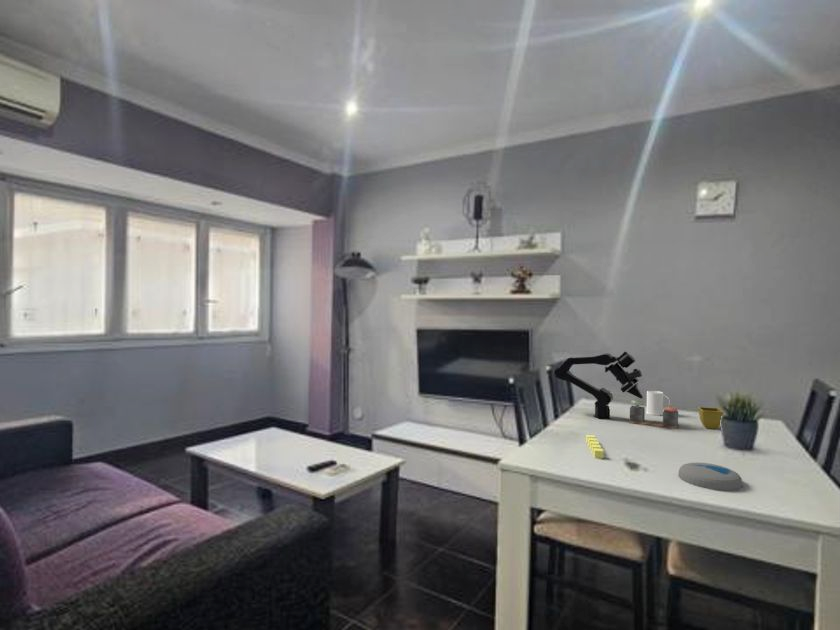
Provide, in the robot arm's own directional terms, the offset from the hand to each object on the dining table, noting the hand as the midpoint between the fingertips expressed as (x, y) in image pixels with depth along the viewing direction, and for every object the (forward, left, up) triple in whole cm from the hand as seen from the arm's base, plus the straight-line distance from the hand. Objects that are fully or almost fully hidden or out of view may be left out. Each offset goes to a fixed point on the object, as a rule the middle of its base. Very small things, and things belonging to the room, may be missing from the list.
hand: (642, 398), depth 239 cm
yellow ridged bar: (-44, -40, -13) cm, 60 cm away
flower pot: (+28, -12, -13) cm, 33 cm away
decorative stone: (-23, -76, -13) cm, 81 cm away
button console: (+4, -4, -13) cm, 14 cm away
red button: (+10, -8, -9) cm, 15 cm away
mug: (+20, +17, -13) cm, 30 cm away
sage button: (-2, +1, -7) cm, 7 cm away
